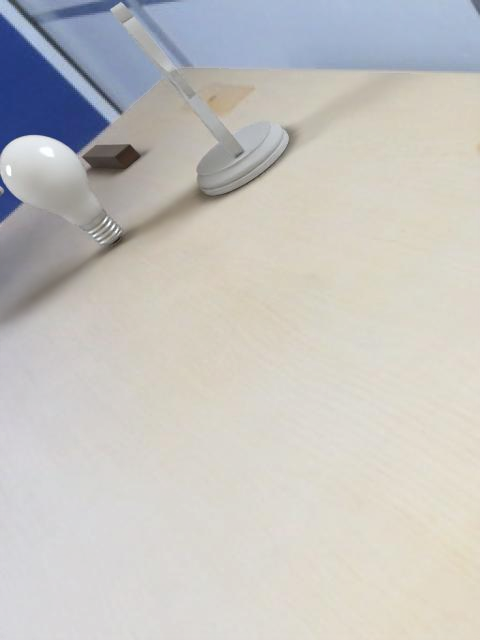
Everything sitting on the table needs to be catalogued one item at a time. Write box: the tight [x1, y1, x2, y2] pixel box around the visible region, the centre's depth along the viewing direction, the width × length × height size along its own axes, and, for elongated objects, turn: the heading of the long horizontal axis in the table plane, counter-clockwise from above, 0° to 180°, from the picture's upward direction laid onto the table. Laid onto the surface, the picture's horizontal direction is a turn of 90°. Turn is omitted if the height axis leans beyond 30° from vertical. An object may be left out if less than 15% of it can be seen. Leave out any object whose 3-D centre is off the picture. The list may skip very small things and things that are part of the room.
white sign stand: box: [109, 1, 290, 196], centre depth 67 cm, size 10×10×15 cm
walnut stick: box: [81, 143, 141, 169], centre depth 90 cm, size 10×2×2 cm, turn 57°
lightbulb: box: [0, 134, 124, 247], centre depth 69 cm, size 6×6×11 cm
